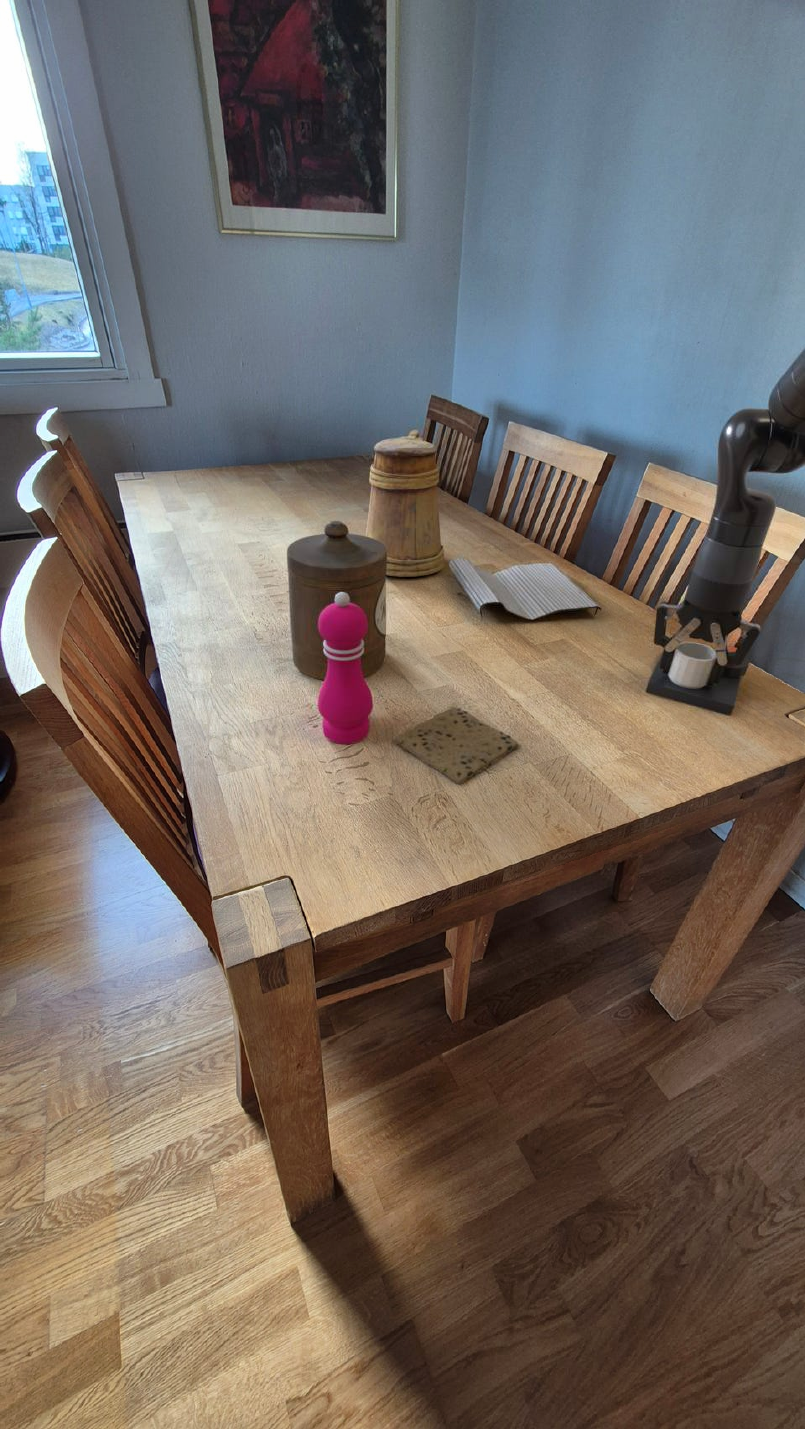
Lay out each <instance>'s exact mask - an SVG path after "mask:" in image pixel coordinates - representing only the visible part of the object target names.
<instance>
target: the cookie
mask: <svg viewBox="0 0 805 1429" xmlns="http://www.w3.org/2000/svg"><path fill="white" fill-rule="evenodd" d="M393 742H394V743H396V744H397V745H398V746H400V747H402V748H404V749H405V750H406V751H408V752H410V753H411V754H413V755H414V756H416V757H417V758H418V759H419V760H421V761H422V762H423V763H425V764H426V765H429V766H430V767H432V768H434V769H436V770H437V771H439V772H440V773H441V774H443V775H445V776H446V777H447V778H449V779H450V781H452V782H454V783H456V785H461V784H463V783H464V782H465V781H467V780H469V779H470V778H471V777H474V776H476V775H477V774H478V773H479V772H481V771H483V770H484V769H485V768H487V767H490V766H491V765H492V764H494V763H495V762H496V761H497V760H499V759H500V758H502V757H504V756H505V755H508V754H509V753H510V752H512V751H515V749H517V748H518V747H519V742H517V740H515V739H514V738H512V736H510V735H509V734H506V733H504V731H501V730H498V728H495V727H493V726H491V725H489V724H487V723H485V722H483V721H481V720H479V719H478V718H477V717H475V716H473V715H472V714H471V713H469V712H468V711H466V710H462V709H461V708H459V707H456V706H451V707H449V708H448V709H445V710H444V711H441V712H440V713H438V714H436V715H434V716H433V717H430V718H428V719H427V720H425V721H424V722H421V723H419V724H418V725H415V726H413V727H411V729H409V730H406V731H404V732H402V733H401V734H399V735H397V736H395V737H393Z"/></svg>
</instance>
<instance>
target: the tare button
mask: <svg viewBox="0 0 805 1429" xmlns="http://www.w3.org/2000/svg"><path fill="white" fill-rule="evenodd" d="M727 646H728V651H729V652H735V651H736V650H737V648H738V647H735V646H732V645H731V646H730V645H727Z"/></svg>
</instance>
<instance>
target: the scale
mask: <svg viewBox="0 0 805 1429" xmlns="http://www.w3.org/2000/svg"><path fill="white" fill-rule="evenodd" d="M663 653H664V649H663V650H662V652H661V655H660V656H659V659H658V661H657V663H656V665H655V667H654V670H653V672H652V674H651V676H650V678H649V680H648V683H647V685H646V689H645V693H647V694H650V695H654V696H657V697H662V698H665V699H669V700H672V701H676V702H680V703H682V704H683V703H684V704H686V705H690V706H694V707H697V708H702V709H706V710H709V711H712V712H716V713H720V714H723V715H727V716H732V713H733V710H734V708H735V704H736V700H737V697H738V691H739V688H740V683H741V679H742V677H744V676H746V673H747V671H748V669H749V665H750V660H749V659H748V658H747V656H745V658H744V660H743V661H742V663H741V664H740V665H735V664H727V665H726V666H725V668H724V671H723V673H722V676H721V679H720V681H719V682H718V683H713V686H710V685H708V684H707V685H705V686H703V687H701V688H698V689H690V688H685V687H681V686H679V685H677V684H675V683H674V682H672V681H671V679H670V678H669V676H668V673H667V674H665V673H663V669H661V668H660V663H661V660H662V656H663Z"/></svg>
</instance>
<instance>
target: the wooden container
mask: <svg viewBox="0 0 805 1429" xmlns="http://www.w3.org/2000/svg"><path fill="white" fill-rule="evenodd" d="M323 532H324V533H320V534H313V535H308V536H305V537H301V538H299V539H297V540H295V541H293V542H292V543H290V544H289V545H288V546H287V549H286V566H287V576H288V578H287V580H288V599H289V600H288V601H289V620H290V621H289V622H290V636H291V637H290V638H291V647H292V658H293V660H292V661H293V663H294V665H295V667H296V668H297V669H298V671H300V672H301V673H302V674H304V675H306V676H309V677H311V678H314V679H318V680H323V681H324V680H325V678H326V674H327V670H328V657H327V656H326V655H325V654H324V651H323V650H324V646H323V642H324V640H325V639H323V638H322V636H321V635H320V632H319V629H318V621H319V616H320V614H321V612H322V611H323V610H324V609H325V608H326V607H327V606H328V605H331V604H333V603H335V596H336V595H337V594H338V593H339V592H345V593H347V594H348V596H349V598H350V602H349V603H353V604H355V605H357V606H359V607H360V608H361V609H362V610H363V611H364V613H365V615H366V617H367V622H368V629H367V633H366V635H365V636H364V638H363V641H364V646H363V647H364V652H363V654H362V655H361V658H360V663H361V671H362V674H363V677H364V678H366V677H367V676H371V675H372V674H374V673H375V672H377V671H379V670H380V669H381V668H382V667H383V665H384V664H385V661H386V646H387V645H386V642H387V641H386V640H387V639H386V637H387V575H386V570H387V549H386V547H385V546H384V545H383V544H382V543H381V542H379V541H377V540H375V539H373V538H370V537H366V535H361V534H356V533H349V527H348V526H347V525H346V524H345V523H343V522H342V521H339V520H333V521H331V522H329V523H327V524H325V526H324V528H323Z"/></svg>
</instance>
